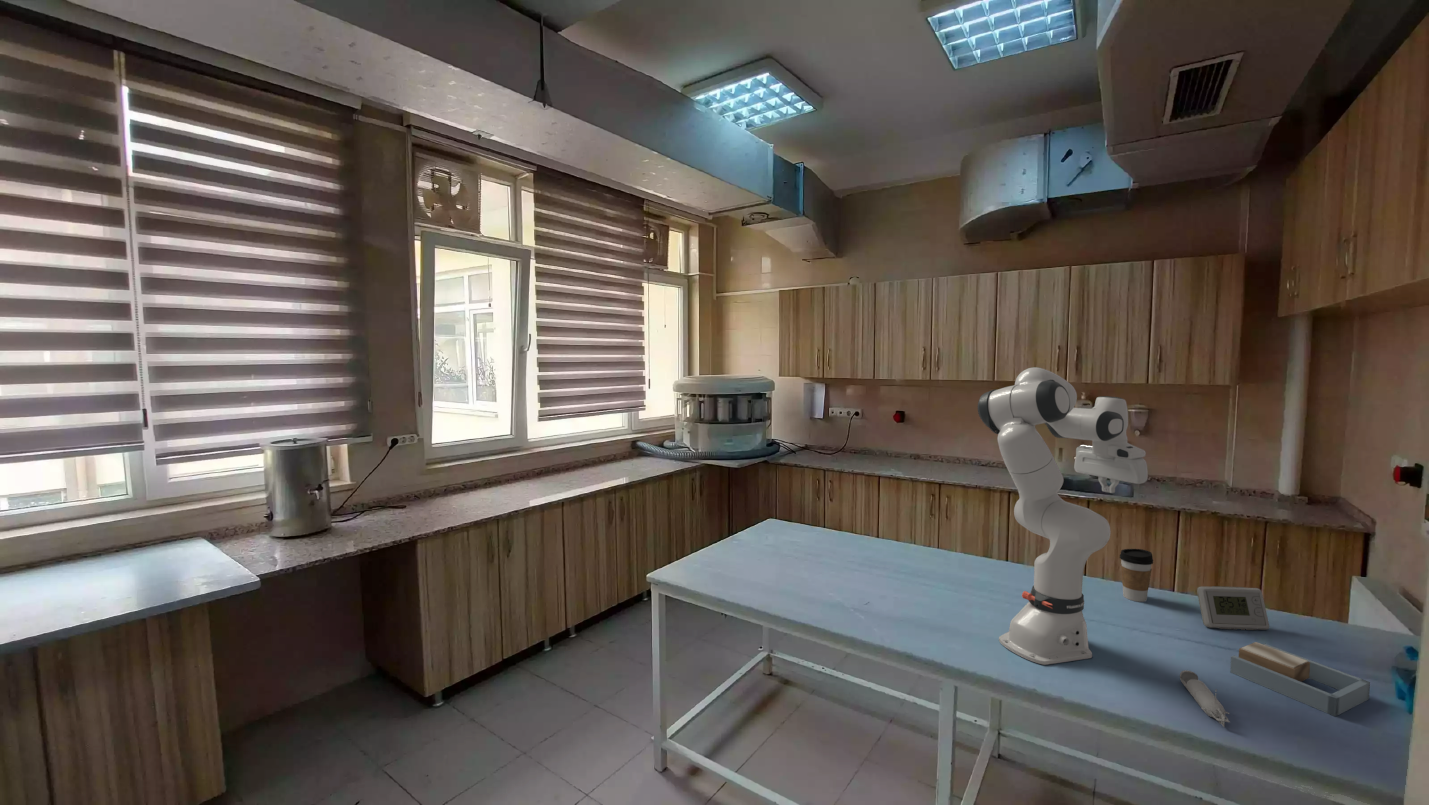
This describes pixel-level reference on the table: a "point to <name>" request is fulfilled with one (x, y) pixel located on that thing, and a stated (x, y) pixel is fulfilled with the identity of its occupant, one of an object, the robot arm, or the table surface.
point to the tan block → (1276, 661)
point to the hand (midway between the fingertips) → (1108, 492)
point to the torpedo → (1203, 696)
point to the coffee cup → (1136, 573)
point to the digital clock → (1233, 608)
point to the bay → (1333, 704)
